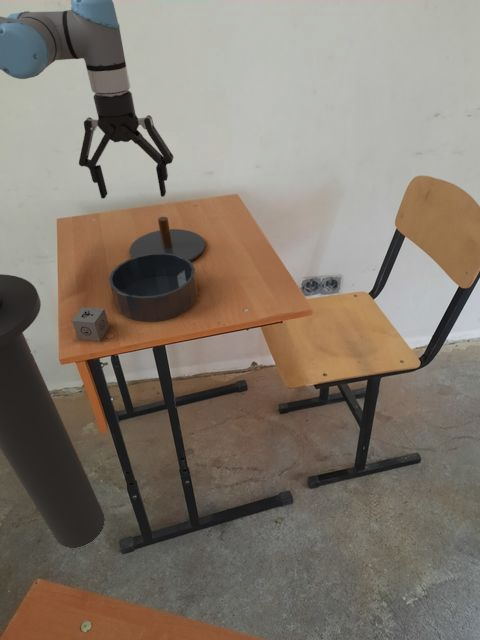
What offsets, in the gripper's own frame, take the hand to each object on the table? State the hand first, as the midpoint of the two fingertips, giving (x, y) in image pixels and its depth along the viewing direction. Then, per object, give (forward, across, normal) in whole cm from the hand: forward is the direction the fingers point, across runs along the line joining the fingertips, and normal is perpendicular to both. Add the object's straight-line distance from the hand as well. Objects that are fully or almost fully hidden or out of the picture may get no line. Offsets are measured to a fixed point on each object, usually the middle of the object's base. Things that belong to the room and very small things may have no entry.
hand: (134, 195), depth 108 cm
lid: (+20, -3, -12) cm, 23 cm away
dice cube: (+21, +8, +25) cm, 33 cm away
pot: (+21, -4, +11) cm, 24 cm away
